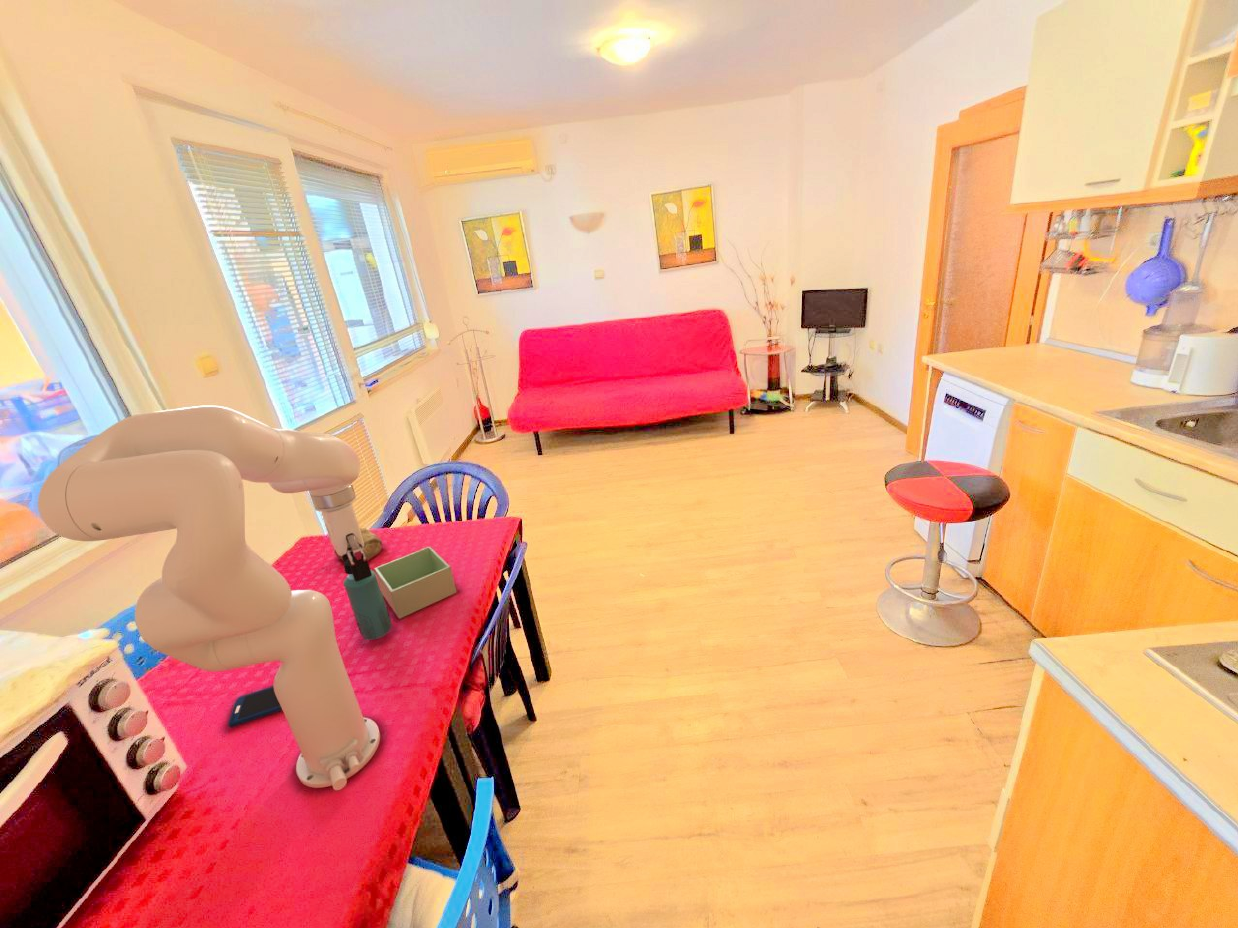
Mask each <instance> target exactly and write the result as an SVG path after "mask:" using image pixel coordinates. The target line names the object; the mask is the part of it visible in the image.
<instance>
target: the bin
mask: <svg viewBox="0 0 1238 928" xmlns="http://www.w3.org/2000/svg"><path fill="white" fill-rule="evenodd" d="M374 572H375V574H376V578H377V581H378V584H379V587H380V590H381V593H382V596H383V597H384V599H385V601H386V602H387V603H388V605H389V606H390V608H391V609H392V611H393V612H394V614H395V616H396V617H397V618H398V619H399V620H400V619H402V618H405V617H407V616H410V615H411V614H413V613H415V612H417V611H420V610H422V609H424V608H426V607H428V606H430V605H432V604H435V603H438V602H439V601H441V600H443V599H446V598H448V597H450V596H453V595H455V594H457V588H456V584H455V580H454V575H453V571H452V567H451V565H449V564H448V563H447V561H445V559H444V558H443V557H442V556H441V555H440V554H438V553H437V551H435V550H434V548H432V547H431V546H426V547H424V548H422V549H419V550H416V551H414V552H412V553H409V554H406V555H404V556H402V557H399V558H396V559H394V560H390V561H389V562H387V563H384V564H381V565H379V566H376V567H374Z"/></svg>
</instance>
